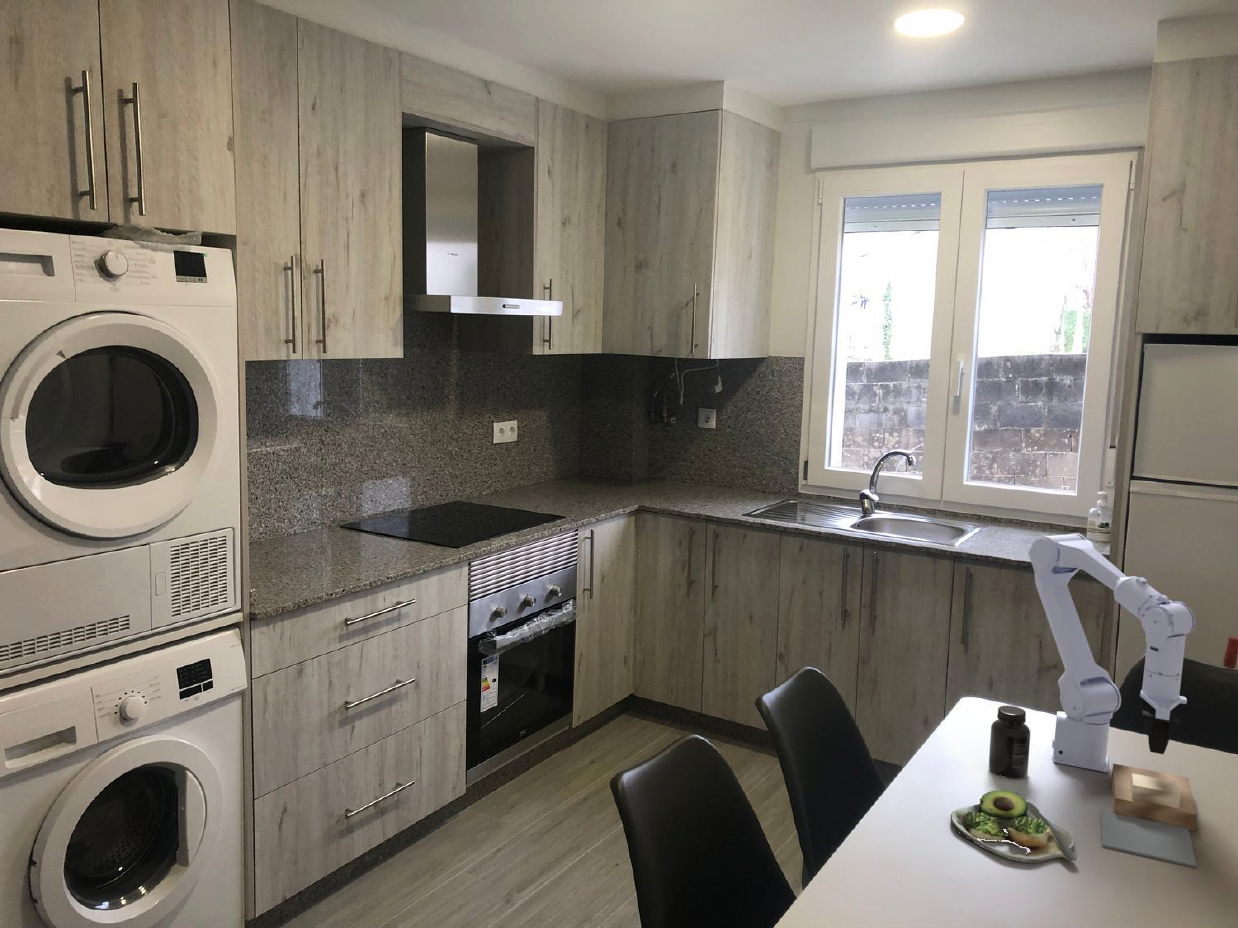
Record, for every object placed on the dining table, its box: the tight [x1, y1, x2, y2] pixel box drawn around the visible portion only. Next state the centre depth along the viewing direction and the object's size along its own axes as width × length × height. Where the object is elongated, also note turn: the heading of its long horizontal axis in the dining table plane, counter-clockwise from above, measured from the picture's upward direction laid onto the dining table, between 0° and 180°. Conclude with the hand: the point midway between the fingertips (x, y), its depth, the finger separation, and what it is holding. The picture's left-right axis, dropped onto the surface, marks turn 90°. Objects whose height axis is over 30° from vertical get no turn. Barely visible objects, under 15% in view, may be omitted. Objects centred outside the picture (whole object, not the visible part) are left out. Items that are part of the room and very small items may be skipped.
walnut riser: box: [1111, 763, 1198, 832], centre depth 167 cm, size 12×15×3 cm
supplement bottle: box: [988, 705, 1031, 780], centre depth 178 cm, size 7×7×12 cm
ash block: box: [1131, 773, 1181, 808], centre depth 163 cm, size 7×5×2 cm
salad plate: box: [950, 789, 1078, 864], centre depth 155 cm, size 19×18×5 cm
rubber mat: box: [1100, 810, 1197, 868], centre depth 155 cm, size 13×12×1 cm
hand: (1155, 744), depth 170 cm, fingers open, 7 cm apart
